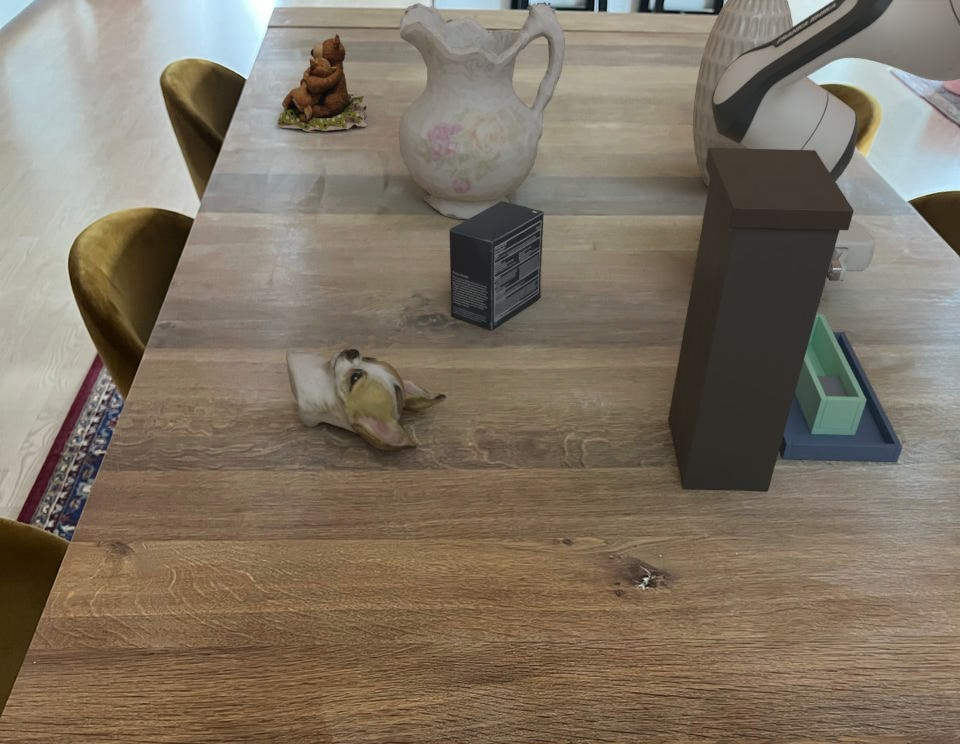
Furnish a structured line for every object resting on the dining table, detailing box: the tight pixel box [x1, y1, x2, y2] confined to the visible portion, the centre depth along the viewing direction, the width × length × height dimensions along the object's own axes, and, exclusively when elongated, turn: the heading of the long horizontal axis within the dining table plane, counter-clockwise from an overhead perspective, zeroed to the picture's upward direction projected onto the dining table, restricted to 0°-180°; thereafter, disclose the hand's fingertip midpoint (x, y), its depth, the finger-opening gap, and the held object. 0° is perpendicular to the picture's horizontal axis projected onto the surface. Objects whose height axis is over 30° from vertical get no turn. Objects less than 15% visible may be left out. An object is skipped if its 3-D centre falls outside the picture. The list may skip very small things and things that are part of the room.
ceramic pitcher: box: [398, 1, 566, 220], centre depth 131 cm, size 22×20×25 cm
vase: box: [692, 0, 794, 188], centre depth 137 cm, size 13×13×28 cm
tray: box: [779, 331, 903, 463], centre depth 103 cm, size 11×23×2 cm, turn 179°
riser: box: [667, 148, 854, 492], centre depth 86 cm, size 9×13×26 cm
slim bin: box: [795, 313, 866, 435], centre depth 102 cm, size 4×18×4 cm, turn 179°
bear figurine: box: [277, 33, 368, 133], centre depth 160 cm, size 14×15×12 cm
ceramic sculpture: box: [285, 348, 448, 452], centre depth 95 cm, size 11×9×15 cm
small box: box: [448, 201, 545, 331], centre depth 113 cm, size 11×6×10 cm, turn 144°
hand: (796, 273), depth 110 cm, fingers open, 8 cm apart
